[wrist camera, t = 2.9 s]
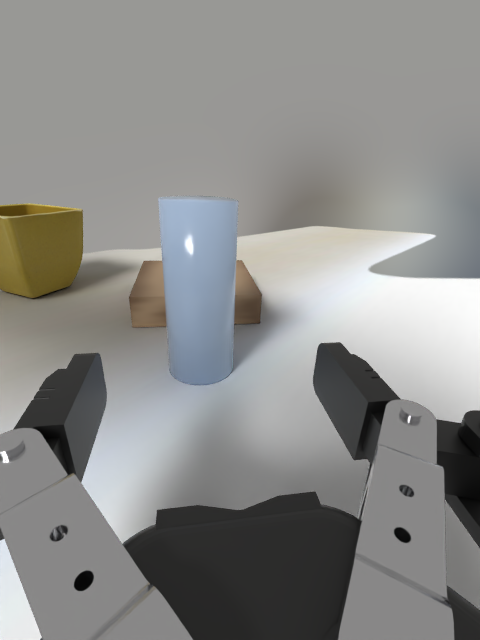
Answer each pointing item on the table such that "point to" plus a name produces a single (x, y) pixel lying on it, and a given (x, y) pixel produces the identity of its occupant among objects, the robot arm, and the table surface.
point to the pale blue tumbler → (199, 285)
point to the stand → (151, 297)
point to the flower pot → (39, 248)
